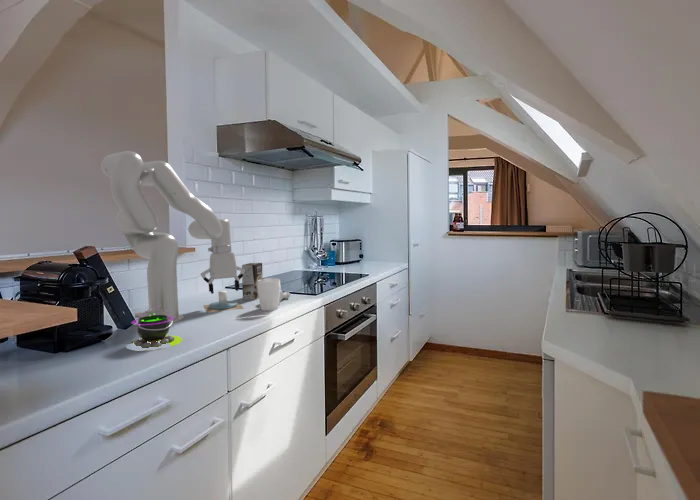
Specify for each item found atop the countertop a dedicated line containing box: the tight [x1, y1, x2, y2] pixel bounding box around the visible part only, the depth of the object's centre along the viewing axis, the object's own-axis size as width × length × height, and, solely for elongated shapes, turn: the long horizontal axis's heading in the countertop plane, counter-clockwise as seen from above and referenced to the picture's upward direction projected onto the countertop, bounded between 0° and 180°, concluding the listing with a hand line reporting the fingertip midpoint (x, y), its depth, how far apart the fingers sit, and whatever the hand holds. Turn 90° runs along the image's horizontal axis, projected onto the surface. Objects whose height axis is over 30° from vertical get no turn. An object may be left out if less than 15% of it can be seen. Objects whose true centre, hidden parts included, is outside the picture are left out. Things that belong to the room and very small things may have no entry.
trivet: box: [203, 301, 245, 313], centre depth 164 cm, size 14×14×1 cm
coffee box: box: [241, 262, 264, 301], centre depth 182 cm, size 9×6×16 cm
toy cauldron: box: [131, 305, 183, 348], centre depth 118 cm, size 15×15×11 cm
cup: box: [257, 277, 282, 311], centre depth 160 cm, size 9×9×12 cm
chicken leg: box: [279, 288, 291, 303], centre depth 175 cm, size 8×18×8 cm, turn 163°
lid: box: [208, 290, 238, 311], centre depth 164 cm, size 11×11×6 cm
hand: (224, 291), depth 164 cm, fingers open, 9 cm apart
